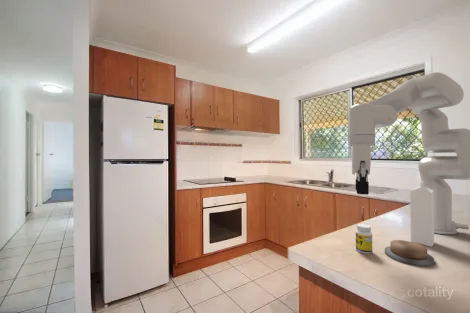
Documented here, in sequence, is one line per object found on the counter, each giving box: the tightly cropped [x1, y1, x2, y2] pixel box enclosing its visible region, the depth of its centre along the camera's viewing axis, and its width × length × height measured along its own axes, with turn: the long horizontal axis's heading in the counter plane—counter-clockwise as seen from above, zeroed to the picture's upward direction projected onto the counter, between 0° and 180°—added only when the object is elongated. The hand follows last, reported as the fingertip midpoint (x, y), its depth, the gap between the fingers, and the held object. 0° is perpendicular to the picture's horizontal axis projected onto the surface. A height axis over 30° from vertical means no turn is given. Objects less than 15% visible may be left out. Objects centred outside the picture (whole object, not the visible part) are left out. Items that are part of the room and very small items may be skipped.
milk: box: [409, 181, 435, 247], centre depth 80 cm, size 6×6×22 cm
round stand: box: [384, 239, 435, 267], centre depth 68 cm, size 12×12×4 cm
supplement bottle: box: [355, 223, 373, 255], centre depth 72 cm, size 5×5×8 cm
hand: (361, 192), depth 73 cm, fingers open, 9 cm apart
